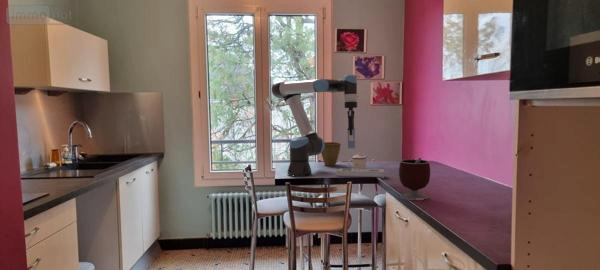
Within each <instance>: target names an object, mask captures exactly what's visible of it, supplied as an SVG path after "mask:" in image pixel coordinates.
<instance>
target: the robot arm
mask: <svg viewBox="0 0 600 270" xmlns="http://www.w3.org/2000/svg"><path fill="white" fill-rule="evenodd" d="M357 88H358V80H357V75H355V74H346V75H344V76H343V79H329V78H328V79H327V78H318V79H310V80H309V79H308V80H298V81H294V80H276V81H275V82H273V84H272V85H271V92H272V95H273V96H274V97H276V98H278V99H283V100H284V103H285V104H286V105H288V106H289V108H290V111H291V114H292V116H293V119H294V121H295V124H296V126H297V129H298V131H299V133H300V136H296V137H292V138H291V139H290V140H289V165H288V168H287V175H288V174H289V175H294V176H293V177H296V176H301V177H305V176H304V175H309V176H311V175H312V168H311V165H310V162H309V160H310V159H309V157H312V156H317V155H321V154H322V152H323V150H324V146H325V144H324V142H325V141H324V139H323V138H322V137H320V136H318V133H317V132H316V131H314V130H313V126H312V125H311V123H310V120H309V117H308V115H307V112H306V110H305V107H304V105H303V102H302V101H301V100H302V94H311V93H312V94H313V93H314V94H315V93H342V92H343V98H344V99H343V100H344V109H348V110H347V121H348V127H347V131H348V130H349V141H354V140H353V128H355V111H354V109H357V108H358V102H357V101H358V98H359V95H358V90H357ZM310 174H311V175H310ZM289 175H288V176H289Z"/></svg>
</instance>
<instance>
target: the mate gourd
mask: <svg viewBox="0 0 600 270" xmlns="http://www.w3.org/2000/svg"><path fill="white" fill-rule="evenodd" d="M398 176H399V182H400V183H401V185H402V186H403V187H405V188H407V189H408V190H410V192H408V193H407V192H406V193H402V194H400V198H401V199H402V200H406V201H410V200H416V198H424V199H427V198H428V199H429V197H428V195H426V194H423V193H419V192H418V191H419V190H422V189H424V188H426V187H427V186H428V185H429V183H430V180H431V179H430V178H431V166H430V161H429V160H426V159H422V157H419V158H417V159H412V158H411V159H410V158H409V159H408V158H407V159H402V160H400V161H399V167H398ZM428 199H427V200H428Z"/></svg>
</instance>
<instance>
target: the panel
mask: <svg viewBox="0 0 600 270" xmlns="http://www.w3.org/2000/svg"><path fill="white" fill-rule="evenodd" d="M335 173H336V174H335V176H336V177H354V178H355V177H356V178H358V177H361V178H362V177H364V178H370V177H371V178H380V180H385V169H384V168H383V169H382V168H380V169H379V168H366V169H353V168H340V167H339V168H337V169H336V172H335Z"/></svg>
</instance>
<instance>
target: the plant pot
mask: <svg viewBox="0 0 600 270" xmlns="http://www.w3.org/2000/svg"><path fill="white" fill-rule="evenodd" d="M324 144H325V146H324V150H323V152H322V153H321V157H322V160H323V163H324V165H325V166H326V167H334V166H336V164H337V160H338V158H339V155H340V150H341V144H342V143H341V142H334V141H332V142H331V141H326V142H325V141H324Z"/></svg>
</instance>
